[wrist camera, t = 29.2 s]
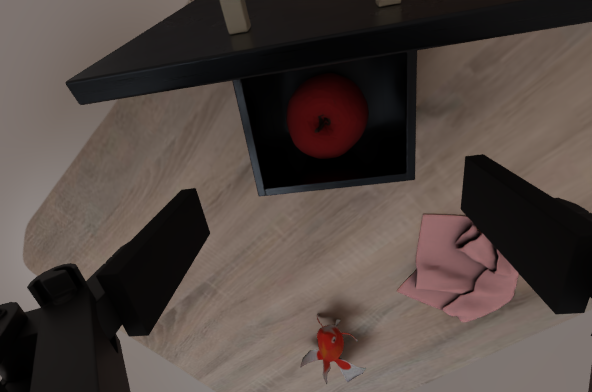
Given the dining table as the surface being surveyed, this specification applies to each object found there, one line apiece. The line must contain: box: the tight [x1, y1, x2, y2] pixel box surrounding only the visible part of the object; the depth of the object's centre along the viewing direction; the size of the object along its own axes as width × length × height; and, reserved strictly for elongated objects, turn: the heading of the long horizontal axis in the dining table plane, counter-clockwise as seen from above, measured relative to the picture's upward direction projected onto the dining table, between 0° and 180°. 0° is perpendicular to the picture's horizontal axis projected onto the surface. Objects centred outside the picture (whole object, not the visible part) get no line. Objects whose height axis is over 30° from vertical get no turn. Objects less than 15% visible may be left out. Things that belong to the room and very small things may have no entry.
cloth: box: [397, 214, 519, 322], centre depth 45 cm, size 20×22×2 cm
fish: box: [300, 314, 366, 384], centre depth 52 cm, size 11×16×10 cm
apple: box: [287, 73, 369, 159], centre depth 33 cm, size 9×9×10 cm
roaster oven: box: [232, 50, 417, 196], centre depth 32 cm, size 18×16×12 cm
